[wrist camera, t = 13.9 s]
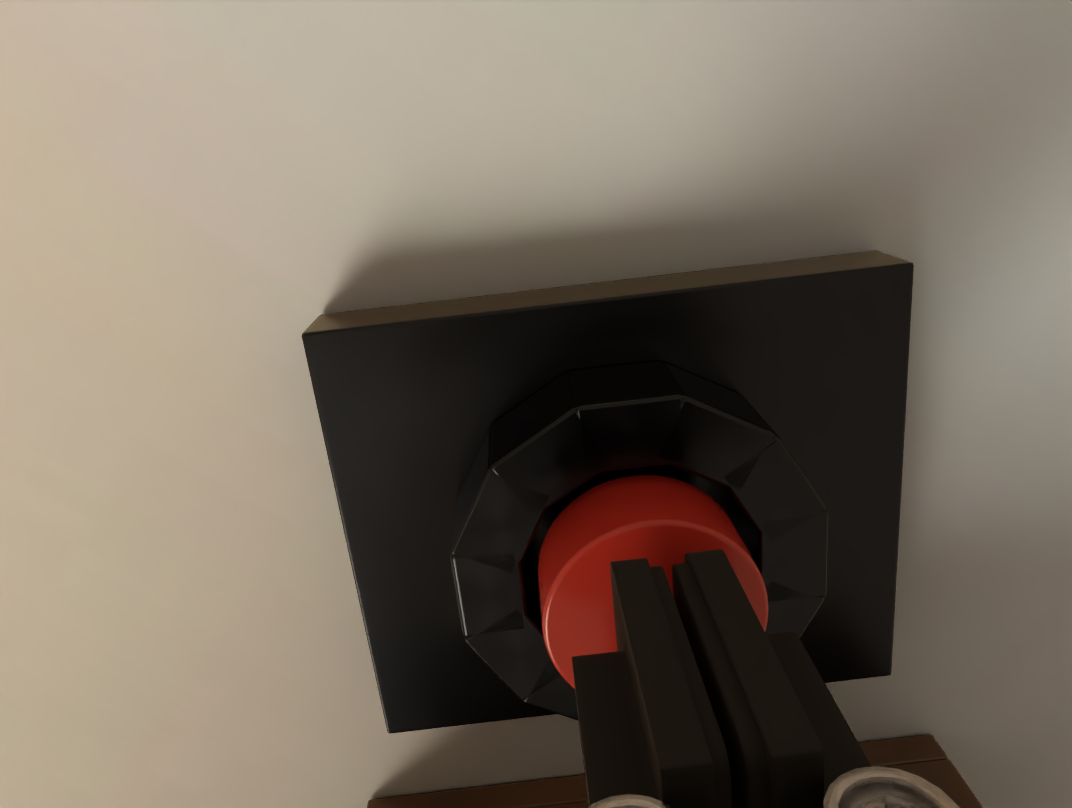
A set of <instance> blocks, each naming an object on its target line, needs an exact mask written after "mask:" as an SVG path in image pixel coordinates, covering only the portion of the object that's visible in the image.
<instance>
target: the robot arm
mask: <svg viewBox="0 0 1072 808" xmlns="http://www.w3.org/2000/svg"><path fill="white" fill-rule="evenodd" d="M610 572H611V584H612V596H613V607H614V618H615V630H616V641H617V652H608V653H600V654H591V655H582V656H573V657H572V666H573V675H574V684H575V693H576V702H577V711H578V719H579V728H580V736H581V745H582V753H583V761H584V769H585V778H586V786H587V794H588V802H589V807H588V808H960V807H959V806H958V805H957V804H956V803H955V802H954V801H953V800H952V799H951V798H950V797H949V796H948V795H947V794H945V793H944V792H943V791H942V790H941V789H940V788H939V787H937V786H935V785H934V784H932V783H930V782H928V781H927V780H925V779H923V778H922V777H920V776H917V775H914V774H912V773H909V772H906V771H903V770H900V769H896V768H888V767H880V766H871V765H870V763H869V761H868V759H867V758H866V756H865V754H864V752H863V750H862V749H861V747H860V745H859V743H858V742H857V740H856V738H855V736H854V734H853V733H852V731H851V729H850V727H849V726H848V724H847V722H846V720H845V718H844V717H843V715H842V713H841V711H840V710H839V708H838V706H837V704H836V703H835V701H834V699H833V697H832V695H831V694H830V692H829V690H828V688H827V687H826V685H825V683H824V681H823V679H822V678H821V676H820V674H819V672H818V671H817V669H816V667H815V665H814V664H813V662H812V660H811V658H810V656H809V655H808V653H807V651H806V649H805V648H804V646H803V644H802V642H801V641H800V639H799V638H798V636H797V635H796V634H795V633H793V632H783V633H775V634H766V633H765V631H764V629H763V627H762V625H761V623H760V621H759V619H758V617H757V615H756V613H755V611H754V609H753V608H752V606H751V604H750V602H749V600H748V598H747V596H746V594H745V592H744V590H743V588H742V586H741V584H740V582H739V580H738V578H737V576H736V574H735V572H734V570H733V568H732V566H731V564H730V562H729V560H728V558H727V556H726V554H725V552H724V551H723V550H722V549H718V550H709V551H700V552H692V553H685V555H684V563H682V564H673V566H672V582H673V595H672V592H671V589H670V586H669V583H668V580H667V578H666V575H665V572H664V569H663V567H662V566H655V567H650V566H649V563H648V560H647V558H639V559H631V560H622V561H613V562H610Z"/></svg>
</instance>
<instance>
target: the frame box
mask: <svg viewBox="0 0 1072 808" xmlns="http://www.w3.org/2000/svg"><path fill="white" fill-rule="evenodd" d="M859 745H860V747H861V749H862V750H863V752H864V754H865V756H866V758H867V759H868V761H869V763H870V765H871V766H880V767H888V768H896V769H900V770H903V771H906V772H909V773H912V774H914V775H917V776H920V777H922V778H923V779H925V780H927V781H928V782H930V783H932V784H934V785H935V786H937V787H939V788H940V789H941V790H942V791H943V792H944V793H945V794H947V795H948V796H949V797H950V798H951V799H952V800H953V801H954V802H955V803H956V804H957V805H958V806H959V807H960V808H983V807H982V805H981V804H980V803H979V801H978V800H977V798H976V797H975V795H974V794H973V793H972V791H971V790H970V788H969V787H968V785H967V784H966V783H965V781H964V780H963V778H962V777H961V775H960V774H959V773H958V771H957V770H956V768H955V767H954V765H953V764H952V763H951V761H950V760H948V758H947V756H946V754H945V753H944V751H943V750H942V748H941V747H940V746H939V744H938V743H937V741H936V740H935V738H934V737H933V736H932V735H923V736H914V737H905V738H897V739H888V740H880V741H871V742H862V743H859ZM588 807H589V802H588V794H587V786H586V778H585V775H579V776H570V777H562V778H553V779H545V780H536V781H528V782H519V783H510V784H502V785H493V786H485V787H476V788H467V789H459V790H450V791H442V792H433V793H424V794H416V795H407V796H399V797H390V798H382V799H373V800H369V802H368V806H367V808H588Z"/></svg>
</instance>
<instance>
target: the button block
mask: <svg viewBox="0 0 1072 808" xmlns="http://www.w3.org/2000/svg"><path fill="white" fill-rule="evenodd" d="M913 268H914V265H913V263H911V262H908V261H905V260H902V259H899V258H897V257H894V256H891V255H888V254H885V253H882V252H879V251H876V250H875V251H866V252H858V253H849V254H840V255H832V256H823V257H815V258H806V259H797V260H789V261H780V262H771V263H763V264H754V265H745V266H737V267H728V268H720V269H711V270H702V271H694V272H685V273H676V274H668V275H659V276H650V277H642V278H633V279H624V280H616V281H607V282H599V283H590V284H581V285H573V286H564V287H555V288H547V289H538V290H529V291H521V292H512V293H504V294H495V295H486V296H478V297H469V298H460V299H452V300H443V301H434V302H426V303H417V304H409V305H400V306H391V307H383V308H374V309H365V310H357V311H348V312H339V313H331V314H322V315H320V316H318V318H317V319H316V320H315V321H314V322H313V323H312V324H311V325H310V326H309V327H308V328H307V329H306V330H305V331H304V332H303V334H302V339H303V344H304V348H305V353H306V358H307V362H308V367H309V371H310V376H311V381H312V385H313V390H314V395H315V399H316V404H317V408H318V413H319V418H320V422H321V427H322V431H323V436H324V441H325V445H326V450H327V455H328V459H329V464H330V468H331V473H332V478H333V482H334V487H335V491H336V496H337V501H338V505H339V510H340V515H341V519H342V524H343V528H344V533H345V538H346V542H347V547H348V551H349V556H350V561H351V565H352V570H353V575H354V579H355V584H356V588H357V593H358V598H359V602H360V607H361V611H362V616H363V621H364V625H365V630H366V635H367V639H368V644H369V648H370V653H371V658H372V662H373V667H374V671H375V676H376V681H377V685H378V690H379V695H380V699H381V704H382V708H383V713H384V718H385V722H386V727H387V731H388V733H398V732H407V731H415V730H424V729H432V728H441V727H450V726H458V725H467V724H475V723H484V722H492V721H501V720H510V719H518V718H527V717H535V716H544V715H553V714H560V715H563V716H566V717H569V718H572V719H575V720H578V721H579V719H578V711H577V702H576V693H575V689H574V688H573V687H572V686H571V685H570V684H569V683H568V682H567V681H566V680H565V679H564V678H563V677H562V676H561V674H560V673H559V672H558V670H557V669H556V668H555V666H554V664H553V662H552V661H551V659H550V657H549V654H548V652H547V649H546V646H545V642H544V637H543V630H542V618H541V605H540V592H539V580H538V562H539V554H540V551H541V547H542V543H543V541H544V538H545V536H546V534H547V532H548V530H549V528H550V527H551V525H552V523H553V522H554V520H555V519H556V518H557V517H558V515H559V514H560V513H561V512H562V511H563V510H564V509H565V508H566V507H567V506H568V505H569V504H570V503H571V502H572V501H573V500H575V499H576V498H577V497H578V496H580V495H581V494H583V493H584V492H586V491H588V490H589V489H591V488H593V487H595V486H597V485H600V484H602V483H604V482H607V481H610V480H613V479H617V478H621V477H626V476H632V475H658V476H664V477H670V478H674V479H677V480H680V481H684V482H687V483H689V484H691V485H693V486H695V487H697V488H699V489H700V490H702V491H703V492H705V493H706V494H708V495H709V496H710V497H712V498H713V499H714V500H715V501H716V502H717V503H718V504H719V505H720V506H721V507H722V509H723V510H724V511H725V512H726V514H727V515H728V517H729V518H730V520H731V522H732V523H733V525H734V527H735V529H736V530H737V532H738V534H739V536H740V537H741V539H742V541H743V543H744V544H745V546H746V548H747V550H748V551H749V553H750V555H751V557H752V558H753V560H754V562H755V564H756V565H757V567H758V569H759V571H760V573H761V575H762V578H763V580H764V582H765V586H766V591H767V595H768V606H769V608H768V621H767V626H766V630H765V633H766V634H775V633H783V632H793V633H795V634H796V635H797V636H798V638H799V639H800V641H801V642H802V644H803V646H804V648H805V649H806V651H807V653H808V655H809V656H810V658H811V660H812V662H813V664H814V665H815V667H816V669H817V671H818V672H819V674H820V676H821V678H822V679H823V681H824V683H828V682H836V681H845V680H853V679H862V678H871V677H879V676H888V675H891V667H892V649H893V631H894V613H895V595H896V577H897V559H898V540H899V522H900V504H901V486H902V468H903V450H904V431H905V413H906V395H907V377H908V359H909V341H910V322H911V304H912V286H913Z"/></svg>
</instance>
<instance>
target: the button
mask: <svg viewBox="0 0 1072 808" xmlns="http://www.w3.org/2000/svg"><path fill="white" fill-rule="evenodd" d="M718 549H722V550H723V551H724V552H725V554H726V556H727V558H728V560H729V562H730V564H731V566H732V568H733V570H734V572H735V574H736V576H737V578H738V580H739V582H740V584H741V586H742V588H743V590H744V592H745V594H746V596H747V598H748V600H749V602H750V604H751V606H752V608H753V609H754V611H755V613H756V615H757V617H758V619H759V621H760V623H761V625H762V627H763V629H764V631H765V630H766V626H767V621H768V608H769V606H768V595H767V591H766V586H765V582H764V580H763V578H762V575H761V573H760V571H759V569H758V567H757V565H756V564H755V562H754V560H753V558H752V557H751V555H750V553H749V551H748V550H747V548H746V546H745V544H744V543H743V541H742V539H741V537H740V536H739V534H738V532H737V530H736V529H735V527H734V525H733V523H732V522H731V520H730V518H729V517H728V515H727V514H726V512H725V511H724V510H723V509H722V507H721V506H720V505H719V504H718V503H717V502H716V501H715V500H714V499H713V498H712V497H710V496H709V495H708V494H706V493H705V492H703V491H702V490H700V489H699V488H697V487H695V486H693V485H691V484H689V483H687V482H684V481H680V480H677V479H674V478H670V477H664V476H658V475H632V476H626V477H621V478H617V479H613V480H610V481H607V482H604V483H602V484H600V485H597V486H595V487H593V488H591V489H589V490H588V491H586V492H584V493H583V494H581V495H580V496H578V497H577V498H576V499H575V500H573V501H572V502H571V503H570V504H569V505H568V506H567V507H566V508H565V509H564V510H563V511H562V512H561V513H560V514H559V515H558V517H557V518H556V519H555V520H554V522H553V523H552V525H551V527H550V528H549V530H548V532H547V534H546V536H545V538H544V541H543V543H542V547H541V551H540V554H539V562H538V580H539V592H540V605H541V618H542V630H543V637H544V642H545V646H546V649H547V652H548V654H549V657H550V659H551V661H552V662H553V664H554V666H555V668H556V669H557V670H558V672H559V673H560V674H561V676H562V677H563V678H564V679H565V680H566V681H567V682H568V683H569V684H570V685H571V686H572V687H573V688H574V689H575V684H574V675H573V666H572V657H573V656H582V655H591V654H600V653H608V652H617V641H616V630H615V618H614V607H613V596H612V584H611V572H610V562H613V561H622V560H631V559H639V558H647V560H648V563H649V566H650V567H655V566H662V567H663V569H664V572H665V575H666V578H667V580H668V583H669V586H670V589H671V592H672V595H673V582H672V566H673V564H682V563H684V555H685V553H692V552H700V551H709V550H718Z"/></svg>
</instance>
